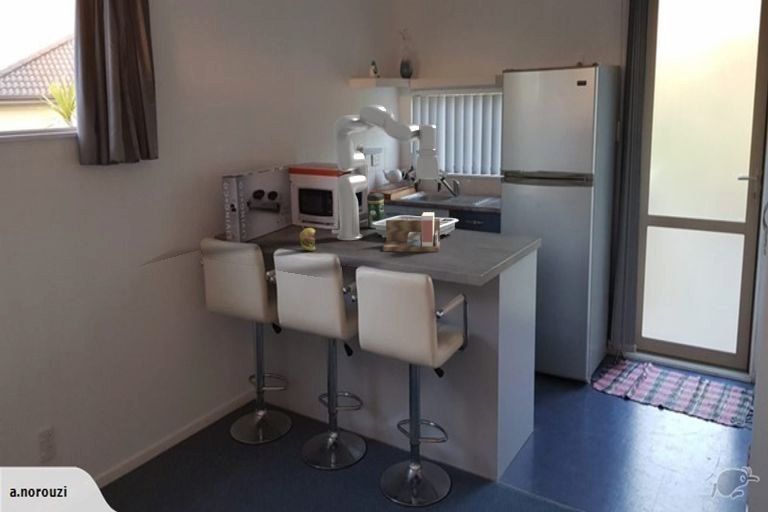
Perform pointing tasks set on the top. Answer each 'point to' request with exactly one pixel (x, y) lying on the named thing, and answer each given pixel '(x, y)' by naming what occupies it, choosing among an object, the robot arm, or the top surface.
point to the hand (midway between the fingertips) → (427, 191)
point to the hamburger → (308, 239)
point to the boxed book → (428, 229)
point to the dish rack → (445, 223)
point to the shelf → (402, 235)
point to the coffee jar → (375, 208)
